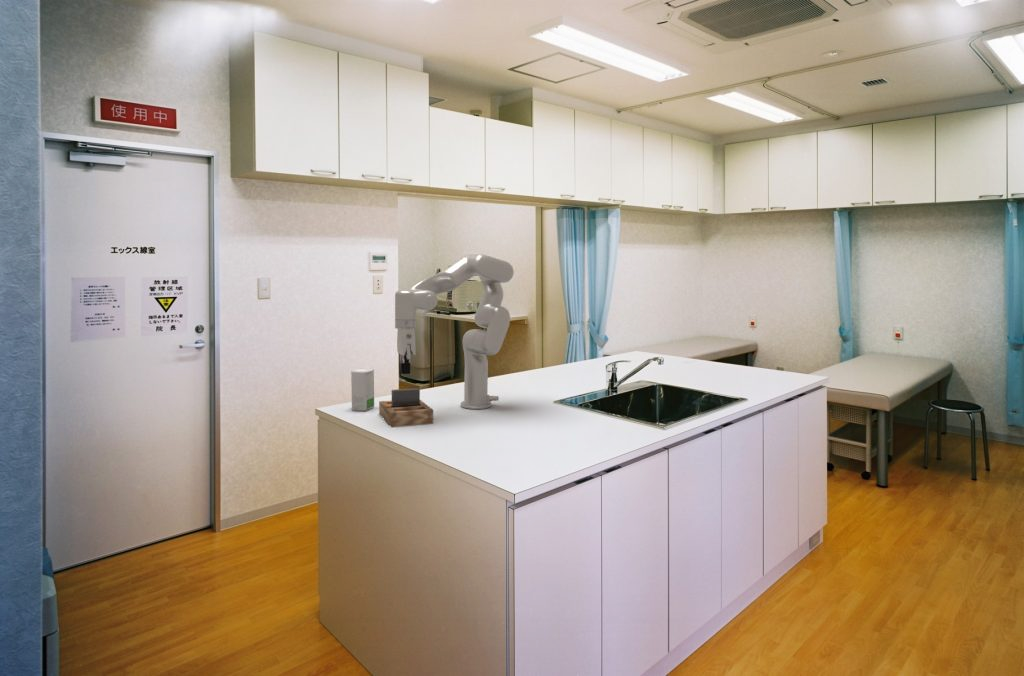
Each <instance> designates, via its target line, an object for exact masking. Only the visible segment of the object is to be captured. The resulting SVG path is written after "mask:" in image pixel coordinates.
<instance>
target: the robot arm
mask: <svg viewBox="0 0 1024 676" xmlns="http://www.w3.org/2000/svg"><path fill="white" fill-rule="evenodd" d="M514 272H515V271H514V268H513V265H512V264H511V263H510V262H508V261H506V260H504V259H503V260H502V259H499V258H496V257H492V256H490V255H487V254H481V253H480V254H479V253H478V254H467V255H464V256H463V257H461V258H460V259H458V260H457V261H455V262H454V263H453V264H451V265H450V266H449V267H447V268H445V269H444V270H443V271H440V272H438V273H436V274H434V275H432V276H430V277H427V278H425V279H422V280H421V281H420V282H418V283H416V284H415V285H414V286H412V287H411V288H410V289H408V290H406V289H405V290H397V291H396V292H395V293H394V329H397V331H396V333H397V336H396V337H397V338H396V348H397V349H396V352H397V354H399V355H400V374H402V375H409V374H411V356H416V354H417V351H416V348H417V347H416V334H415V332H416V331H415V329H416V328H417V325H416V324H417V322H416V321H417V316H416V315H417V310H420V311H430V310H431V311H432V310H433V309H434V308H436V306H437V304H438V302H439V301H438V300H439V298H438V296H437V295H439V294H444V293H449V292H452V291H453V292H454V291H455V290H457V289H458V288H460V287H461V286H463V284H465V283H466V282H468V280H471V279H472V278H473V277H478V278H479V279H480V282H481V283H482V288H483V289H482V295H481V298H480V300H479V301H480V302H479V304H478V306H477V309H476V311H475V314H474V324H476V325H477V326H478V327H480V328H485V329H486V330H484V329H479V328H478V329H476V328H475V329H469V330H467V331H466V332H465V333H464V334H463V337H462V341H461V342H462V350H463V353H464V355H463V357H464V395H463V396H464V398H463V401H461V402H460V407H461V408H463V409H467V410H468V409H469V410H483V409H489V408H491V407H492V403H491V402H496V401H497V402H498V401H499V399H500V397H499V396H498V395H490V394H488V393H489V392H488V387H489V386H488V384H489V383H488V382H489V378H488V377H489V362H488V357H487V356H495V355H496V354H498V352H500V350H501V348H502V346H503V343H504V340H505V338H506V334H507V333H508V329H509V327H510V324H511V315H510V312H509V310H508V309H507V308H506V307H505V306H501V305H502V303H503V300H504V291H503V287H502V284H503V283H504V284H506V283H508V282H510V281H511V280H512V279H513V278H514V274H515V273H514Z"/></svg>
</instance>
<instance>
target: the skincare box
mask: <svg viewBox="0 0 1024 676" xmlns="http://www.w3.org/2000/svg"><path fill="white" fill-rule="evenodd" d="M350 372H351V373H350V374H351V379H350V381H351V411H358V412H367V411H369V410H371V408H372V409H374V408H375V371H374V368H370V369H369V368H358V369H354V370H352V371H350ZM373 407H374V408H373Z"/></svg>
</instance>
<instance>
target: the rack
mask: <svg viewBox="0 0 1024 676" xmlns="http://www.w3.org/2000/svg"><path fill="white" fill-rule="evenodd" d="M378 404H379V405H378V409H379V410H378V413H379V414H378V415H379V416H380V415H381V416H382V417H383V418H384V419H383V418H382V417H381V418H382V419H383V420H384V421H385V422H386V424H388V425H390V426H391V427H390V428H392V427H393V428H394V426H396V427H404V426H405V425H407V426H414V425H415V426H416V425H418V424H419V425H427V424H429V425H431V424H434V409H433V408H432V407H430V406H429V405H427V404H426V403H425V402H424V401H423V400H422V399H420V406H409V407H395V408H392V400H380V401H378ZM419 425H418V426H419ZM405 427H406V426H405Z"/></svg>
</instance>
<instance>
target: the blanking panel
mask: <svg viewBox="0 0 1024 676" xmlns="http://www.w3.org/2000/svg"><path fill="white" fill-rule="evenodd" d="M420 391H421V390H420V388H404V389H403V388H402V389H400V388H399V389H391V401H392V408H395V407H409V406H420V400H421V399H420V398H421V396H420V395H421V392H420Z"/></svg>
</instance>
